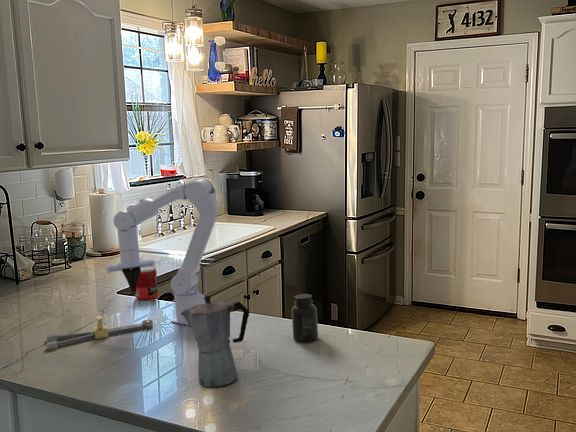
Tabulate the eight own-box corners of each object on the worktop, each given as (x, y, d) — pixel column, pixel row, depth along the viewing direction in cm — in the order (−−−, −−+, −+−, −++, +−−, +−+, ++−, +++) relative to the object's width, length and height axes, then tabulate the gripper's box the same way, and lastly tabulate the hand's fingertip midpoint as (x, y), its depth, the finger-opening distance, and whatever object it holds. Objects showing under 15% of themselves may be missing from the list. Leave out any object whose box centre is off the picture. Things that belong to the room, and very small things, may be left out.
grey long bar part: (150, 322, 177) (149, 316, 176) (155, 330, 168) (155, 324, 168) (47, 340, 165) (46, 333, 165) (47, 350, 157) (46, 343, 157)
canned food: (153, 301, 201) (150, 270, 199) (132, 301, 202) (129, 270, 201) (162, 295, 208) (159, 265, 207) (141, 295, 210) (139, 265, 208)
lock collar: (106, 331, 170) (104, 314, 169) (108, 336, 165) (106, 318, 164) (93, 333, 168) (91, 316, 168) (95, 338, 163) (93, 321, 163)
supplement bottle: (321, 335, 157) (319, 293, 155) (314, 344, 150) (312, 300, 149) (297, 333, 159) (295, 292, 157) (289, 342, 153) (287, 299, 151)
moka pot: (188, 374, 135) (181, 292, 133) (252, 368, 136) (247, 287, 134) (184, 391, 126) (176, 304, 123) (253, 385, 127) (248, 298, 124)
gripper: (150, 244, 183) (154, 285, 184) (103, 250, 177) (107, 292, 179) (154, 247, 176) (158, 290, 178) (105, 253, 170) (110, 297, 172)
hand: (133, 291), depth 178 cm, fingers closed
